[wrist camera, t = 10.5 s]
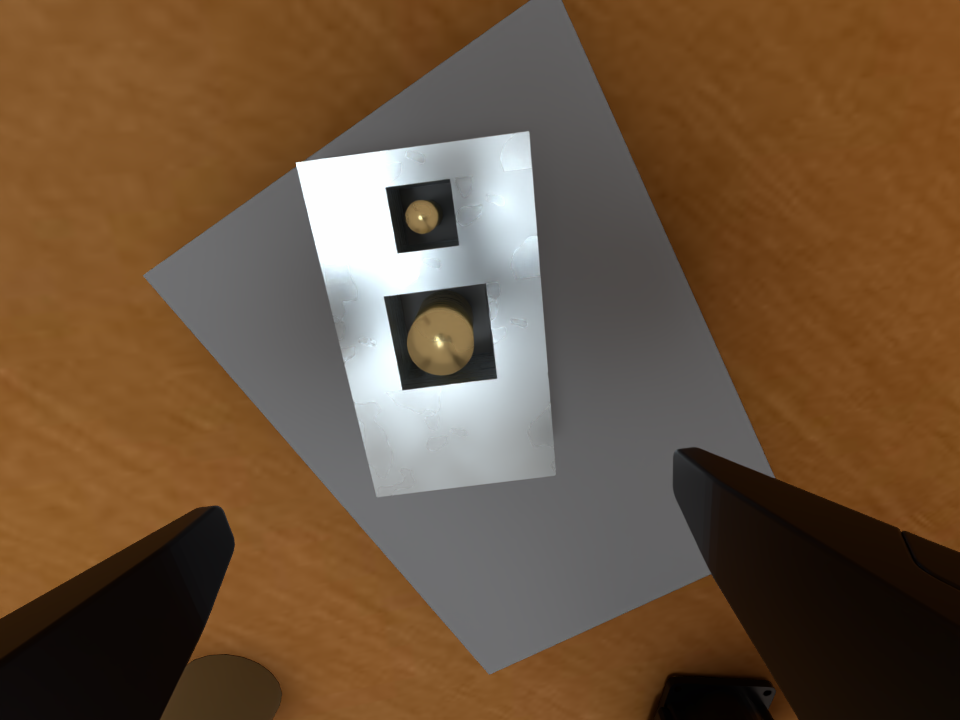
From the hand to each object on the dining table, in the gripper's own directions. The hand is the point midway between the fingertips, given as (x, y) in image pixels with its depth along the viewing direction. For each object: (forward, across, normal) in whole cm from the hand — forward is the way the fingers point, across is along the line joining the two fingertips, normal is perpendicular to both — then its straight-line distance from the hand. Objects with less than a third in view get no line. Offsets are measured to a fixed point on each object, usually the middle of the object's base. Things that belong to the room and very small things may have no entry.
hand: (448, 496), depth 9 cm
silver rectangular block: (+10, 0, -1) cm, 10 cm away
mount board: (+11, -2, +4) cm, 12 cm away
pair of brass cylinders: (+10, 0, -3) cm, 11 cm away
